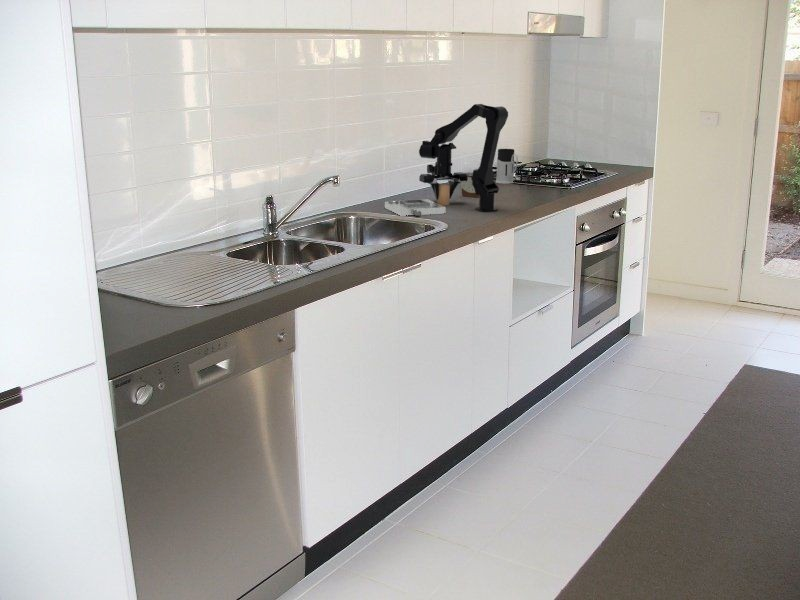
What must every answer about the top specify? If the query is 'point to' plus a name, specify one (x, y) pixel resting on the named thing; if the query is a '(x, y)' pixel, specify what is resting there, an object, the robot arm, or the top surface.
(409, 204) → the gearbox housing
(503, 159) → the grey jug
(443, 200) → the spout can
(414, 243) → the top surface
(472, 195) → the food container
